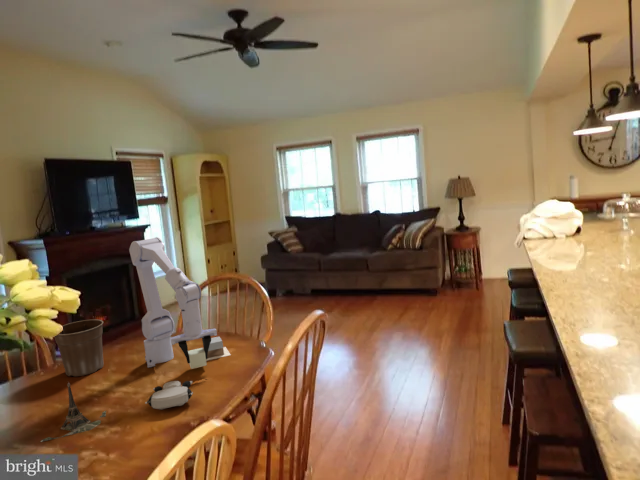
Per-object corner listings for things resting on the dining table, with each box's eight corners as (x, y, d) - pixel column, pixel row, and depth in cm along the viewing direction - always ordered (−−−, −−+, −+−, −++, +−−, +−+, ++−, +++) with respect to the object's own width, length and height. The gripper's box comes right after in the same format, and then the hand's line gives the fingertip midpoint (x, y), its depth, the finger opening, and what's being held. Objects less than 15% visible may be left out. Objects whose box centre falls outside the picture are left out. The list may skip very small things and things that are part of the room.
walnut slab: (207, 358, 162) (206, 351, 162) (204, 353, 168) (203, 346, 167) (224, 354, 164) (223, 347, 164) (221, 349, 170) (220, 342, 170)
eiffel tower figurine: (39, 445, 117) (29, 395, 115) (47, 426, 126) (38, 380, 125) (104, 428, 122) (96, 380, 120) (106, 412, 131) (99, 367, 130)
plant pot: (115, 368, 163) (108, 324, 161) (63, 384, 154) (55, 337, 152) (104, 357, 176) (97, 316, 174) (56, 371, 167) (48, 328, 165)
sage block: (191, 368, 150) (189, 355, 149) (189, 363, 155) (187, 350, 154) (206, 365, 152) (204, 352, 151) (204, 360, 156) (202, 347, 156)
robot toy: (153, 397, 139) (146, 417, 124) (151, 382, 139) (144, 401, 124) (195, 389, 142) (193, 408, 127) (193, 375, 142) (191, 392, 127)
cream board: (202, 363, 160) (202, 361, 160) (198, 354, 169) (198, 352, 169) (231, 357, 163) (230, 354, 163) (225, 348, 173) (225, 346, 173)
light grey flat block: (206, 351, 162) (205, 344, 162) (203, 346, 167) (202, 339, 167) (223, 347, 164) (222, 340, 164) (220, 342, 170) (219, 336, 169)
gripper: (169, 328, 145) (175, 369, 147) (216, 319, 150) (221, 359, 152) (168, 322, 151) (173, 362, 153) (212, 314, 157) (217, 352, 159)
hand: (197, 360), depth 153 cm, fingers closed on sage block, 5 cm apart
